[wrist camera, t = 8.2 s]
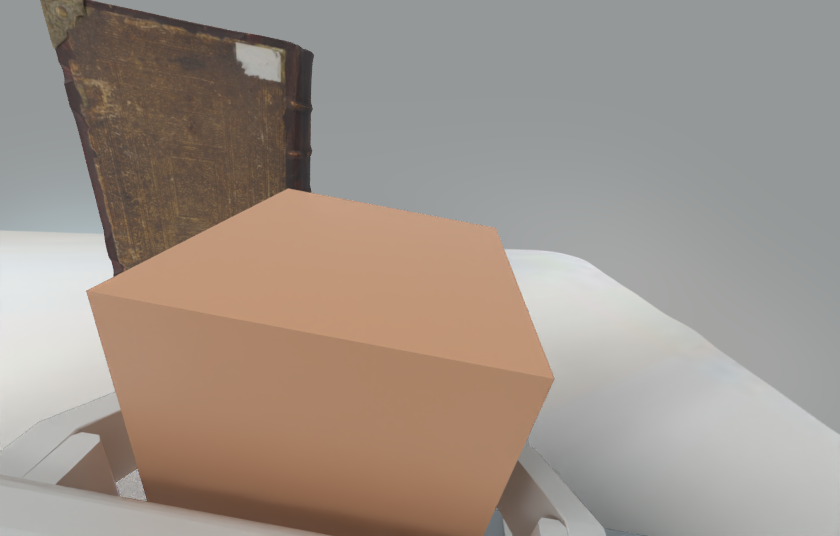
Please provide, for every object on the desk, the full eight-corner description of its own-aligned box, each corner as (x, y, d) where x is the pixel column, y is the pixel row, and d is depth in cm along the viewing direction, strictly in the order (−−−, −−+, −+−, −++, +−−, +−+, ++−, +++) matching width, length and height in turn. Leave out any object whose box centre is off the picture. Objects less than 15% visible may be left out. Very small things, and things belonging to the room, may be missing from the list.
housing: (186, 637, 9) (86, 291, 5) (287, 434, 15) (288, 188, 10) (417, 679, 9) (553, 378, 5) (429, 460, 15) (495, 227, 10)
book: (314, 293, 40) (319, 46, 30) (299, 329, 34) (298, 31, 23) (162, 279, 38) (108, 8, 28) (115, 314, 32) (23, -19, 21)
